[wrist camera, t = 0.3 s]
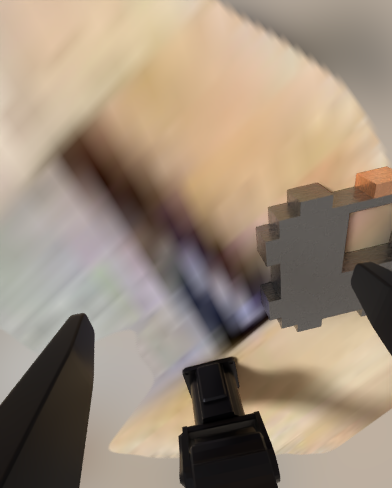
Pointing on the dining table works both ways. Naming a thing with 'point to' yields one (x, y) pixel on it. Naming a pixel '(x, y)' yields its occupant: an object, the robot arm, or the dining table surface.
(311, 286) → the pixel heart plate
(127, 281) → the dining table surface
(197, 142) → the dining table surface
